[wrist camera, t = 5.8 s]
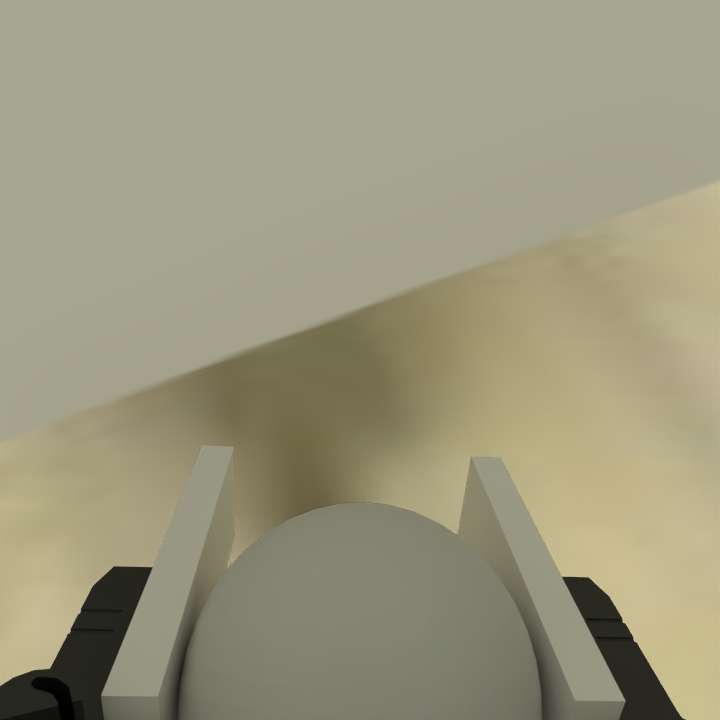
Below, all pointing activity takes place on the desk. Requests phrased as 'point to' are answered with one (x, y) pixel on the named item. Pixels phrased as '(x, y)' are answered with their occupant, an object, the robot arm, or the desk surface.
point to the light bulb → (360, 627)
